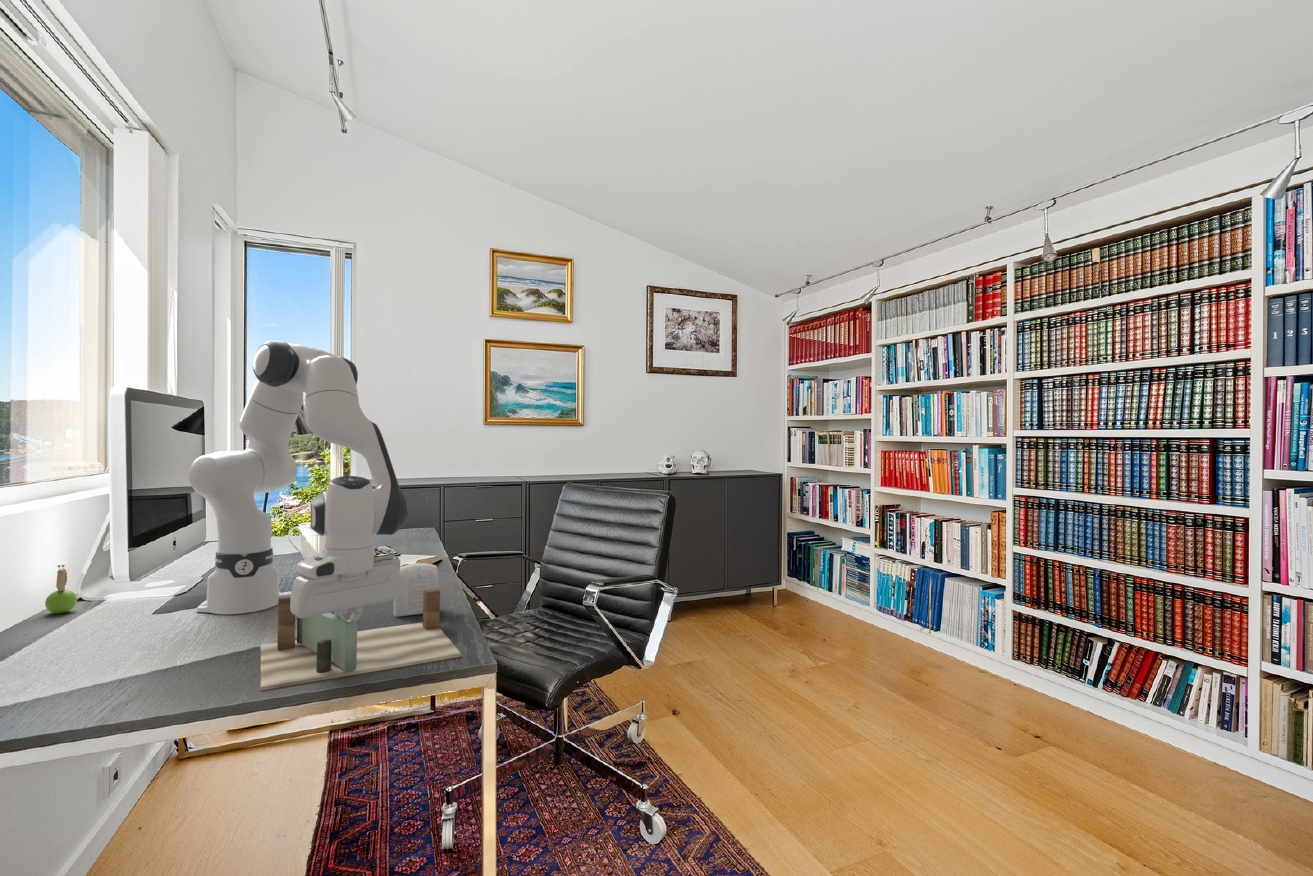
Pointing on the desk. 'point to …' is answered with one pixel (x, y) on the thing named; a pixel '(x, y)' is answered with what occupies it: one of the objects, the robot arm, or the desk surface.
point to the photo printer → (414, 587)
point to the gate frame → (374, 648)
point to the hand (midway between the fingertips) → (348, 630)
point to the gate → (330, 637)
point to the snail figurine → (61, 595)
